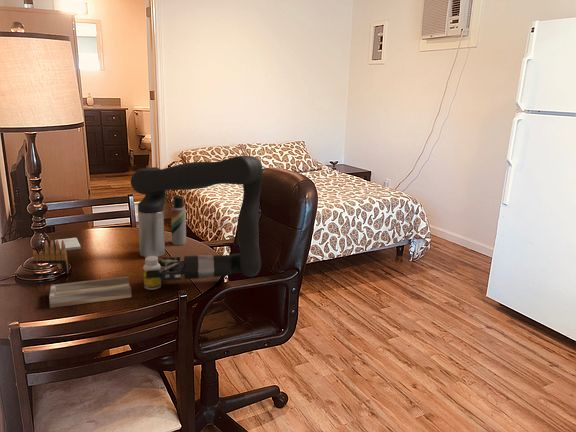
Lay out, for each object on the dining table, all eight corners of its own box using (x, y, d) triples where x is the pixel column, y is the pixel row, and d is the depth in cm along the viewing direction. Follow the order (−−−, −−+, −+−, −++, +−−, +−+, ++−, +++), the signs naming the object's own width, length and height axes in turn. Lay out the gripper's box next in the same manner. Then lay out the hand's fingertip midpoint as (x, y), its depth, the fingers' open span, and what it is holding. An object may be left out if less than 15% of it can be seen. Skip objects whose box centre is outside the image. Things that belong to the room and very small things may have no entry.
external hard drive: (57, 253, 173) (54, 243, 183) (81, 250, 177) (77, 240, 187) (57, 249, 172) (54, 239, 182) (80, 246, 176) (76, 237, 186)
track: (52, 293, 137) (51, 284, 136) (128, 284, 146) (128, 275, 145) (50, 307, 128) (49, 298, 128) (131, 297, 137) (131, 288, 136)
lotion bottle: (178, 240, 191) (177, 194, 186) (189, 242, 189) (188, 196, 183) (169, 243, 187) (167, 196, 181) (179, 246, 184) (178, 198, 179)
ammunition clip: (69, 272, 153) (66, 239, 150) (67, 274, 152) (64, 240, 148) (36, 273, 152) (32, 239, 149) (33, 275, 150) (30, 240, 147)
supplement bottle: (140, 286, 145) (139, 257, 143) (156, 281, 149) (155, 253, 146) (149, 291, 141) (147, 262, 139) (164, 287, 145) (163, 258, 143)
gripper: (197, 248, 153) (147, 250, 149) (200, 263, 139) (145, 266, 136) (198, 269, 155) (148, 271, 151) (200, 286, 141) (146, 289, 137)
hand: (147, 269), depth 143 cm, fingers open, 8 cm apart
